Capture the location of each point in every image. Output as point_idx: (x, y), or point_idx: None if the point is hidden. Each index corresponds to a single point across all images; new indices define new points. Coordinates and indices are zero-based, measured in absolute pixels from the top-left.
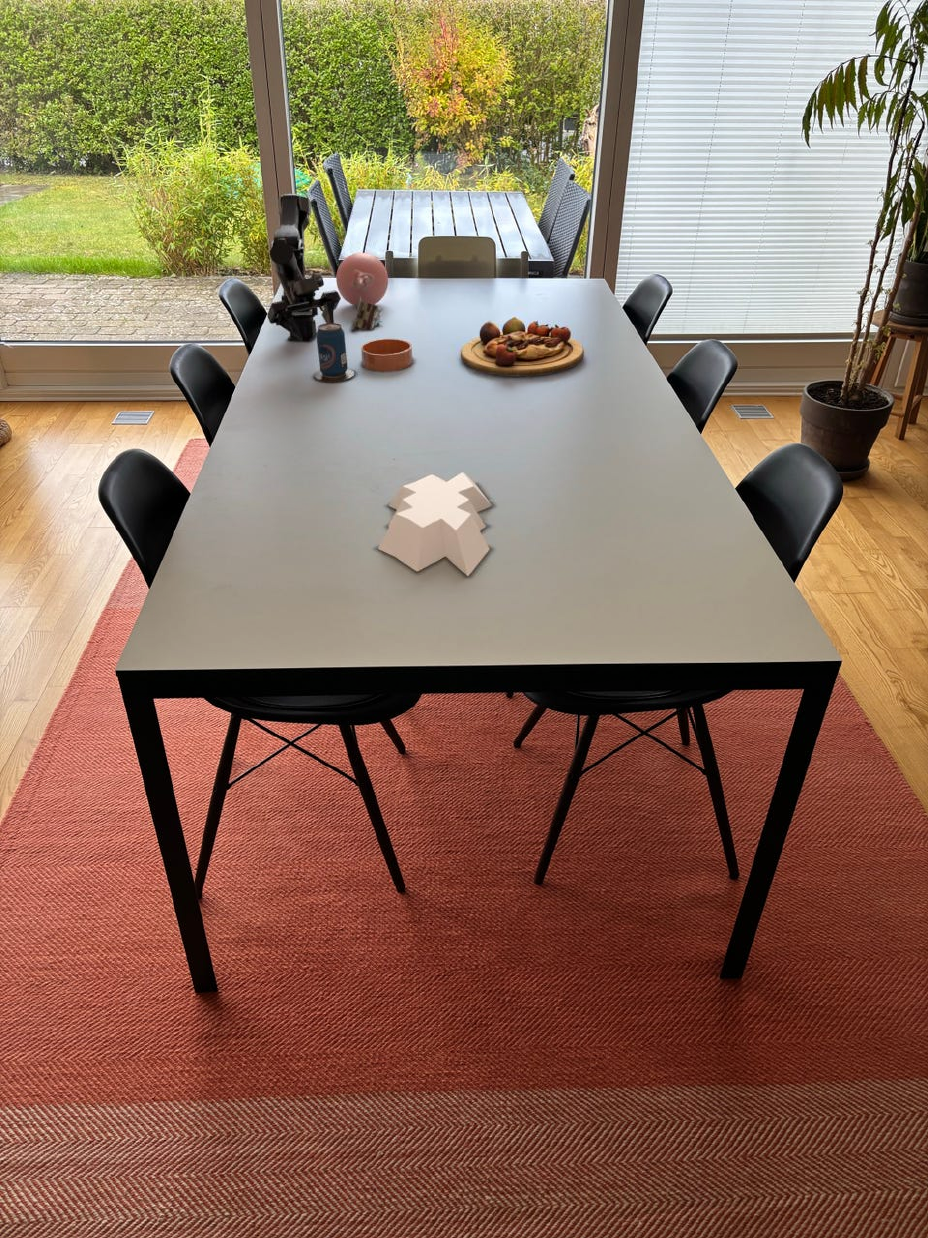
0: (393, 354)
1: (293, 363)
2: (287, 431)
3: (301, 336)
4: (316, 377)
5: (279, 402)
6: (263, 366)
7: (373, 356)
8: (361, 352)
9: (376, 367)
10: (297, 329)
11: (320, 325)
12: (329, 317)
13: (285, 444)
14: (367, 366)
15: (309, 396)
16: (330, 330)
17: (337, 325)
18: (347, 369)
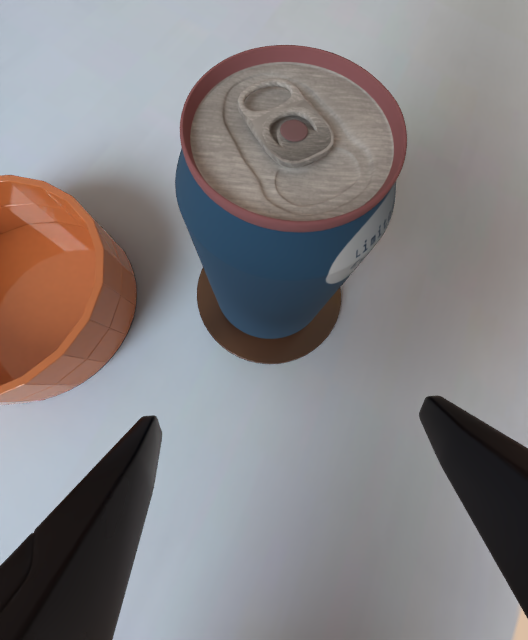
0: (29, 178)
1: (355, 534)
2: (508, 45)
3: (440, 402)
4: (337, 298)
5: (495, 191)
6: (488, 580)
7: (100, 227)
8: (100, 321)
9: (118, 245)
10: (508, 449)
11: (357, 209)
12: (78, 549)
13: (523, 4)
14: (133, 284)
15: (404, 184)
16: (327, 57)
17: (201, 153)
18: (206, 307)
